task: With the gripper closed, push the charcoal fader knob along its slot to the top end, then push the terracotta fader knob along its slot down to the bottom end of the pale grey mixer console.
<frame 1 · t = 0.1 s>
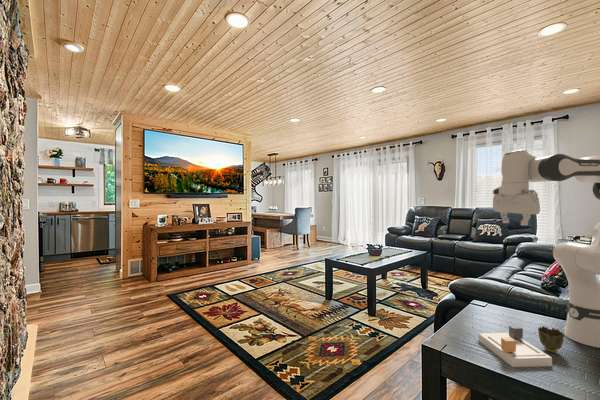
hand: (514, 224, 115), 48 cm above the table, tool pointing down, fingers open, 8 cm apart
mixer console: (512, 352, 107), on the table
cup: (550, 351, 108), on the table
fader 2: (515, 332, 112), point 5 cm above the table, slide at -4.5 cm
fader 1: (508, 344, 102), point 5 cm above the table, slide at 4.5 cm
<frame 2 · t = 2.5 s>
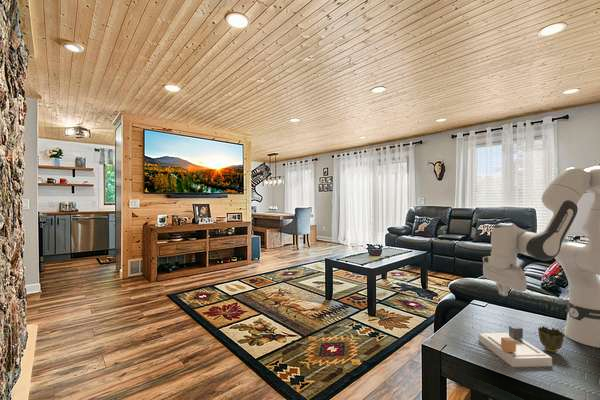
hand: (503, 294, 118), 18 cm above the table, tool pointing down, fingers closed
nothing on the table moved.
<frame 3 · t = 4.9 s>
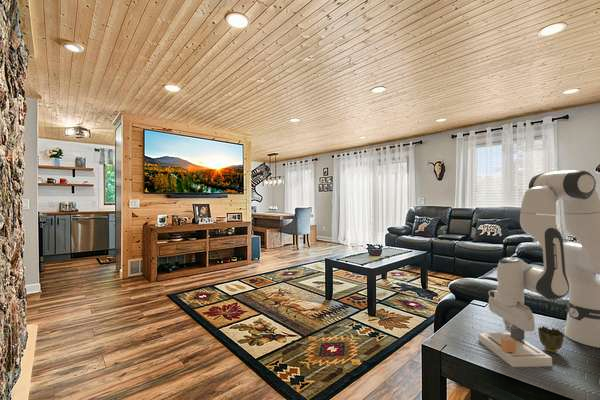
hand: (510, 331, 115), 4 cm above the table, tool pointing down, fingers closed
fader 2: (517, 333, 111), point 5 cm above the table, slide at -3.7 cm, touching gripper
everything else where it was.
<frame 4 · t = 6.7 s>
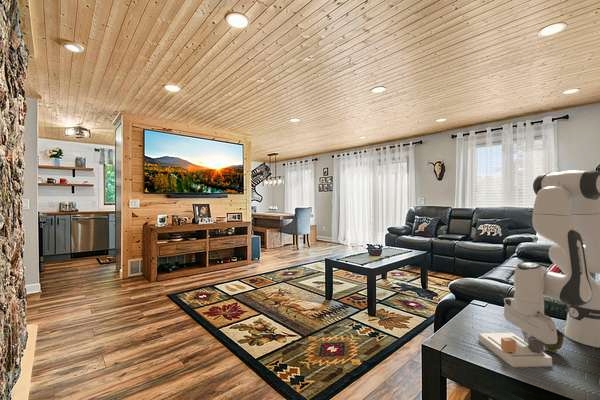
hand: (528, 343, 106), 4 cm above the table, tool pointing down, fingers closed
fader 2: (535, 344, 102), point 5 cm above the table, slide at 4.8 cm, touching gripper
everything else where it was.
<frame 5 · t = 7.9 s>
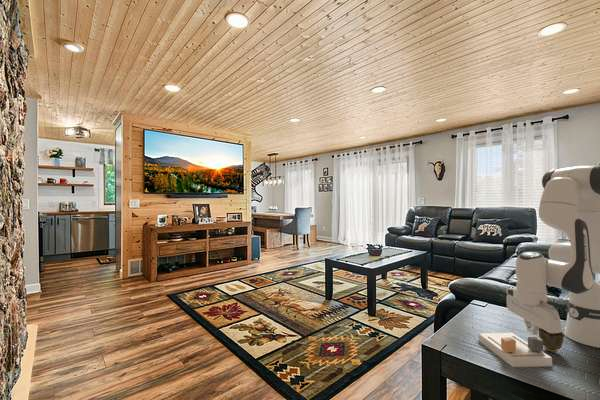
hand: (532, 333, 105), 8 cm above the table, tool pointing down, fingers closed
fader 2: (535, 344, 103), point 5 cm above the table, slide at 4.6 cm
everything else where it was.
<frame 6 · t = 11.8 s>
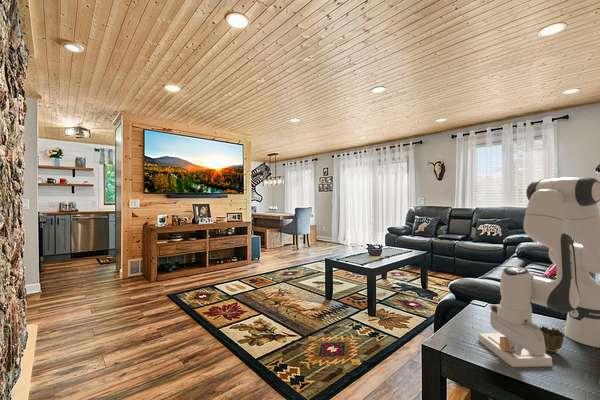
hand: (515, 353, 99), 4 cm above the table, tool pointing down, fingers closed
fader 1: (507, 343, 103), point 5 cm above the table, slide at 3.9 cm, touching gripper
everything else where it was.
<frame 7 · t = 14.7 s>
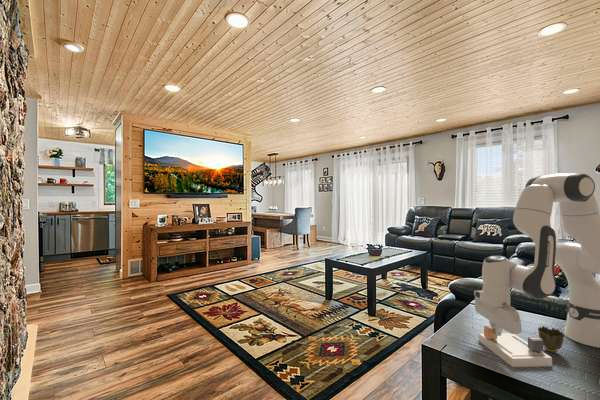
hand: (496, 334, 109), 6 cm above the table, tool pointing down, fingers closed
fader 1: (490, 332, 112), point 5 cm above the table, slide at -4.7 cm, touching gripper
everything else where it was.
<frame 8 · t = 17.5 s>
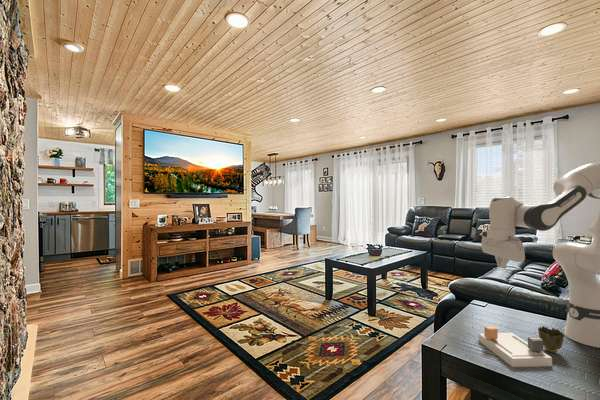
hand: (501, 267, 119), 29 cm above the table, tool pointing down, fingers closed
fader 1: (490, 332, 111), point 5 cm above the table, slide at -4.6 cm
everything else where it was.
at the end: fader 2 slide at 4.6 cm; fader 1 slide at -4.6 cm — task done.
